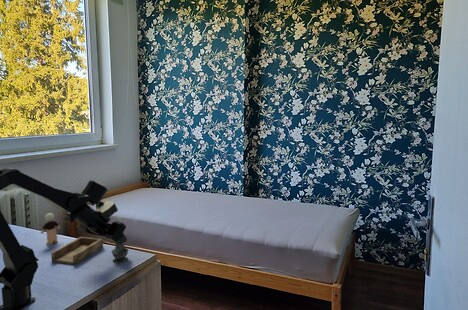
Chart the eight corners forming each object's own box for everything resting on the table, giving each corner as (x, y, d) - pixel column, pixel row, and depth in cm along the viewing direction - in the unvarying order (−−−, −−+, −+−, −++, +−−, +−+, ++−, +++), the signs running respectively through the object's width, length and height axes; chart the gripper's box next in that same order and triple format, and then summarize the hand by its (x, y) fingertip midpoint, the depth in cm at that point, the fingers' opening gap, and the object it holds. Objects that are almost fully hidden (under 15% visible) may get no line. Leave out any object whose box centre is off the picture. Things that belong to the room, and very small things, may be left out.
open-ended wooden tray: (75, 264, 123) (75, 255, 123) (51, 261, 126) (51, 252, 125) (103, 247, 139) (102, 239, 138) (81, 245, 141) (80, 236, 141)
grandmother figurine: (55, 239, 147) (53, 210, 145) (62, 240, 146) (60, 211, 144) (39, 246, 140) (37, 215, 138) (46, 247, 139) (44, 216, 137)
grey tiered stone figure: (111, 258, 129) (110, 226, 128) (128, 255, 131) (127, 224, 130) (112, 264, 124) (110, 232, 122) (129, 262, 126) (128, 230, 124)
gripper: (119, 200, 114) (147, 223, 124) (85, 192, 124) (113, 214, 135) (100, 230, 108) (130, 252, 119) (66, 219, 119) (96, 240, 129)
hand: (117, 238), depth 126 cm, fingers open, 9 cm apart
